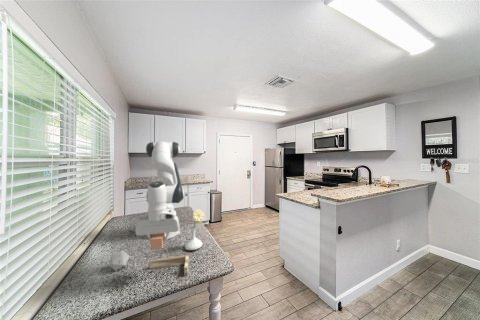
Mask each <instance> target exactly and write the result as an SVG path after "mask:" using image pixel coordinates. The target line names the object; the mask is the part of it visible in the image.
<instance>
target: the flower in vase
mask: <svg viewBox="0 0 480 320" xmlns="http://www.w3.org/2000/svg"><path fill="white" fill-rule="evenodd" d="M192 218H193V219H194V221H195V222H194V223H192V222H189V224H190V226H188V229H190V233H191V238H190V239H189V240H188V241H186V243H185V245H184V249H185V250H187V251H196V250H198V249H200V248H201V247H202V246H203V242H202V240H200V239H199V238H197V237H196V229H197V227H198V225H200V224H202V223H203V220H204V219H205V213H204V212H203V210H202V209H195V211H193V213H192ZM196 224H198V225H196Z"/></svg>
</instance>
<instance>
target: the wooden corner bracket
mask: <svg viewBox="0 0 480 320" xmlns="http://www.w3.org/2000/svg"><path fill="white" fill-rule="evenodd" d="M189 263H190V256H189V254H185V255H178V256H171V257H164V258H158V259H150V260H149V270H153V269H154V270H155V269H161V268H168V267H173V266H179V265H184V266H183V270H184V273H183V274H184V277H187V276H188V277H189V275H188V274H189V266H190V264H189Z"/></svg>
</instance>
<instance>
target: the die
mask: <svg viewBox="0 0 480 320" xmlns="http://www.w3.org/2000/svg"><path fill="white" fill-rule="evenodd" d="M129 258H130V255H129V254H128V253H126V252H125V251H124V250H119V251H118V252H116V253H113V254H111V257H110V259H109V262H108V266H109V267H110V268H111V269H112V270H113V271H114V272H116V271H119V270H120V268H121V269H122V267H123V268H124V266H125V267H126V266H127V265H128V262H129ZM118 269H119V270H118Z"/></svg>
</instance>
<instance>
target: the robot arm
mask: <svg viewBox="0 0 480 320" xmlns="http://www.w3.org/2000/svg"><path fill="white" fill-rule="evenodd" d="M180 152H181V148H180V145H179V143H178V142H175V141H160V140H159V141H155V142H154V141H151V142H148V143H147V144H146V147H145V153H146V155H147V156H148V157H149V158H151V164H152V166H153V168H154V169H156V174H157V175H156V176H157V178H158V179H160V180H162V181H153V182H151V183H149V184H148V186H147V191H146V202H147V203H148V204H147V205H148V207H147V215H139V216H138V217H136V218H135V225H136V226H135V234H136V236H147V239H148V240H149V243H150V244H151V238H152V235H154V234H158V233H166V236H165V237H164V241H165V242H167V241H168V239H171V238H174V237H177V236H178V235H180V234H181V229H180V221H179V217H178V215H177V210H175V206H174V204H180V202H182V201H183V200H184V197H185V191H184V187H183V185H182V181H181V178H180V177H181V176H180V173H179V169H178V166H177V163H176V162H174V161H173V159H175V158H176V157H178V156H179V154H180ZM172 157H173V158H172ZM163 181H165V183H164V182H163Z"/></svg>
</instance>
